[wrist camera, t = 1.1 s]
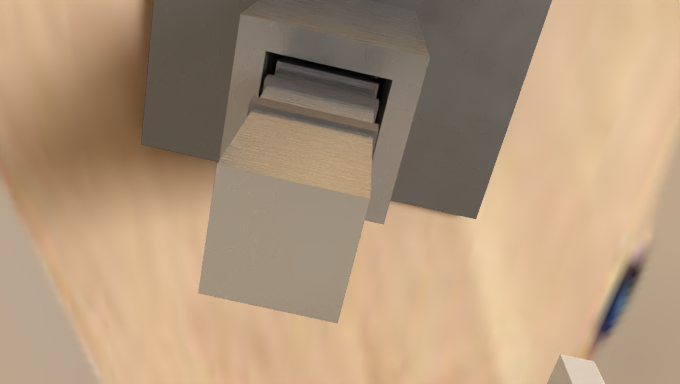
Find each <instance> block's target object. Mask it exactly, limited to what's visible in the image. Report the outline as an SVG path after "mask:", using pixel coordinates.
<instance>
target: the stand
mask: <svg viewBox="0 0 680 384" xmlns="http://www.w3.org/2000/svg"><path fill="white" fill-rule="evenodd" d="M551 1H552V0H154V3H153V15H152V26H151V38H150V49H149V60H148V72H147V83H146V95H145V106H144V118H143V129H142V141H141V145H146V146H150V147H155V148H159V149H164V150H168V151H173V152H177V153H182V154H186V155H191V156H195V157H200V158H204V159H209V160H213V161H218V162H219V160H220V159H221V157H222V156H223V154H224V153H225V151H226V149H227V148H228V146H229V145H230V143H231V142H232V140H233V138H234V137H235V135H236V134H237V132H238V131H239V129H240V127H241V126H242V124H243V123H244V121H245V120H246V118H247V112H248V106H249V102H250V101H251V99H252V98H253V96H256V97H260V96H261V95H262V93H263V87H264V81H265V78H266V77H267V75H268V74H270V75H274V74H275V71H276V65H277V61H278V59H279V58H280V57H283V58H285V56H290V57H294V58H299V59H303V60H307V61H312V62H316V63H320V64H325V65H329V66H333V67H338V68H342V69H347V70H351V71H355V72H360V73H364V74H368V75H373V76H377V79H379V88H378V92H377V96H376V99H379V107H378V111H377V115H376V119H375V124H379V127H378V136H377V140H376V143H375V147H374V151H373V155H372V167H371V191H370V201H369V205H368V209H367V213H366V217H365V220H366V221H371V222H375V223H380V224H384V221H385V218H386V214H387V210H388V207H389V203H390V200H393V201H397V202H402V203H406V204H411V205H415V206H420V207H424V208H429V209H433V210H437V211H442V212H446V213H451V214H455V215H460V216H464V217H469V218H473V219H476V217H477V215H478V212H479V209H480V206H481V203H482V200H483V197H484V194H485V191H486V189H487V186H488V183H489V180H490V177H491V174H492V171H493V168H494V166H495V163H496V160H497V157H498V154H499V151H500V148H501V145H502V143H503V140H504V137H505V134H506V131H507V128H508V125H509V122H510V119H511V117H512V114H513V111H514V108H515V105H516V102H517V99H518V96H519V94H520V91H521V88H522V85H523V82H524V79H525V76H526V73H527V71H528V68H529V65H530V62H531V59H532V56H533V53H534V50H535V48H536V45H537V42H538V39H539V36H540V33H541V30H542V27H543V24H544V22H545V19H546V16H547V13H548V10H549V7H550V4H551Z"/></svg>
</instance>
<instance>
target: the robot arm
mask: <svg viewBox="0 0 680 384" xmlns="http://www.w3.org/2000/svg"><path fill="white" fill-rule="evenodd" d="M547 384H605V383H604V381H603V379H602V377H601V375H600V373H599V370H598V368H597V366H596V364H595V362H594V361H589V360H585V359H580V358H576V357H571V356H566V355H562V354H560V356H559V358H558V361H557V363H556V365H555V367H554V369H553V372H552V374H551V376H550V378H549V380H548V383H547Z"/></svg>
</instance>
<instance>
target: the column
mask: <svg viewBox="0 0 680 384" xmlns="http://www.w3.org/2000/svg"><path fill="white" fill-rule="evenodd" d="M378 88H379V79H377V76H373V75H368V74H364V73H360V72H355V71H351V70H347V69H342V68H338V67H333V66H329V65H325V64H320V63H316V62H312V61H307V60H303V59H299V58H294V57H290V56H285V58H283V57H280V58H279V59H278V61H277V65H276V71H275V74H274V75H270V74H268V75H267V77H266V78H265V81H264V87H263V93H262V95H261V96H260V97H256V96H253V98H252V99H251V101H250V102H249V106H248V112H247V118H246V120H245V121H244V123H243V124H242V126H241V127H240V129H239V131H238V132H237V134H236V135H235V137H234V138H233V140H232V142H231V143H230V145H229V146H228V148H227V149H226V151H225V153H224V154H223V156H222V157H221V159H220V160H219V162H218V164H217V167H216V174H215V181H214V188H213V195H212V202H211V208H210V215H209V222H208V229H207V236H206V243H205V250H204V257H203V264H202V271H201V278H200V285H199V292H198V293H199V294H204V295H209V296H213V297H218V298H222V299H227V300H232V301H236V302H241V303H246V304H250V305H255V306H260V307H264V308H269V309H273V310H278V311H283V312H287V313H292V314H297V315H301V316H306V317H311V318H315V319H320V320H324V321H329V322H334V323H338V319H339V316H340V312H341V308H342V304H343V300H344V297H345V293H346V289H347V285H348V281H349V277H350V274H351V270H352V266H353V262H354V258H355V255H356V251H357V247H358V243H359V239H360V236H361V232H362V228H363V224H364V220H365V217H366V213H367V209H368V205H369V201H370V191H371V167H372V155H373V151H374V147H375V143H376V140H377V136H378V127H379V124H375V119H376V115H377V111H378V107H379V99H376V96H377V92H378Z"/></svg>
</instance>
